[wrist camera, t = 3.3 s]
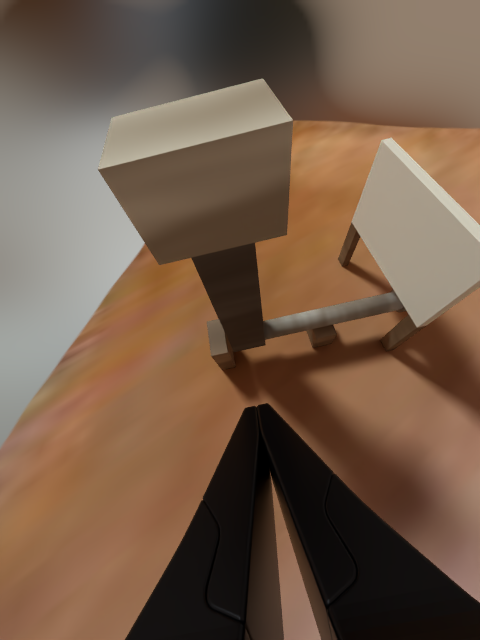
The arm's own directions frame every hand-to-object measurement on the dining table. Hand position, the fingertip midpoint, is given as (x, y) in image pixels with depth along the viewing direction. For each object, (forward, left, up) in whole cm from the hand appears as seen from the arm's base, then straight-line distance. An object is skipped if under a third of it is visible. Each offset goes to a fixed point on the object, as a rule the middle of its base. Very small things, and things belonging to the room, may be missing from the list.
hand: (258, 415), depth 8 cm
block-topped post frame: (+3, -7, -8) cm, 12 cm away
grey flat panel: (+2, -14, -6) cm, 15 cm away
